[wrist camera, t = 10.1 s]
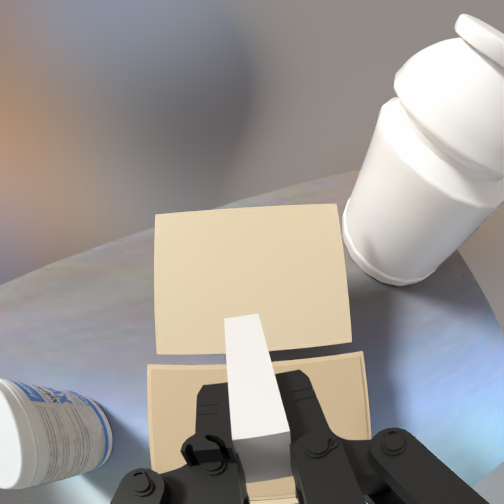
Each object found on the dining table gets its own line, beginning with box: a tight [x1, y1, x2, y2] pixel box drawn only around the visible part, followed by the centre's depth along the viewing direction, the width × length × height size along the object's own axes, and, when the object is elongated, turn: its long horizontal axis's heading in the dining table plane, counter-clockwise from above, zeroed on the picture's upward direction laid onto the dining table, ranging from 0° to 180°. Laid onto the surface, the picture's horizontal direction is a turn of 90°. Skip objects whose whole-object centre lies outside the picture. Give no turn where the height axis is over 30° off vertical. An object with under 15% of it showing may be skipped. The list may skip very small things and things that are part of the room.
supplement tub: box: [0, 379, 112, 490], centre depth 18 cm, size 10×10×15 cm
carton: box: [147, 351, 372, 504], centre depth 22 cm, size 18×13×6 cm
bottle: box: [342, 14, 504, 286], centre depth 22 cm, size 14×14×28 cm
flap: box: [154, 204, 352, 354], centre depth 25 cm, size 16×1×12 cm
